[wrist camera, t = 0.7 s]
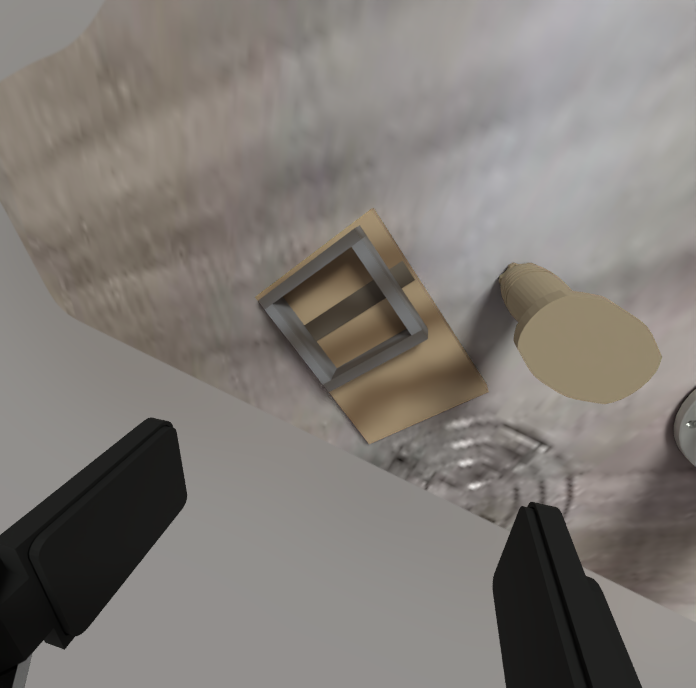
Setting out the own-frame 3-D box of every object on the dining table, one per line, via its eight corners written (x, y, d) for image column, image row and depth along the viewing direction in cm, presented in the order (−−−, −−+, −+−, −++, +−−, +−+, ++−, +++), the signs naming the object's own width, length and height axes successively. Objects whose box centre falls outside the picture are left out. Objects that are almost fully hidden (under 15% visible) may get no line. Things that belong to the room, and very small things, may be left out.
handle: (528, 320, 32) (600, 419, 18) (468, 282, 31) (497, 354, 18) (570, 275, 29) (686, 350, 16) (506, 233, 29) (571, 275, 16)
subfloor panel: (486, 383, 35) (492, 406, 31) (371, 435, 40) (365, 459, 37) (373, 207, 30) (366, 211, 27) (261, 292, 36) (242, 304, 32)
